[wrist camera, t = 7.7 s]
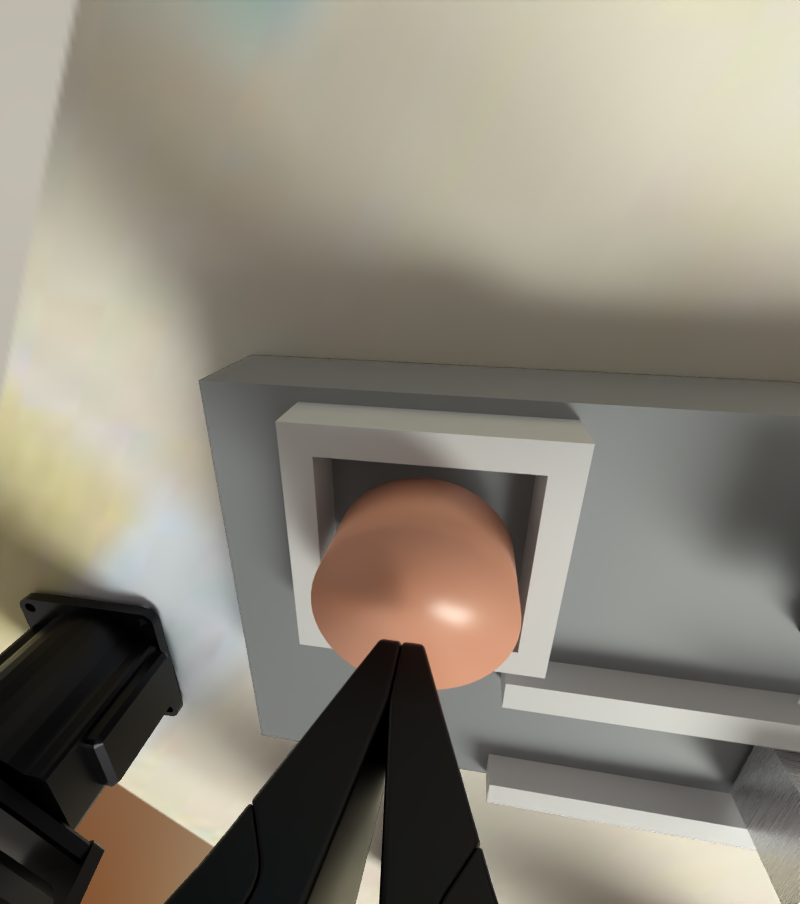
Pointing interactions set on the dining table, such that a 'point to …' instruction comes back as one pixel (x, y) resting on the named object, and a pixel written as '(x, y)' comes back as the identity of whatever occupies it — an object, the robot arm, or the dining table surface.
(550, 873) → the dining table surface
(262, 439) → the switch panel
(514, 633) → the push button
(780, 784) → the slider knob
